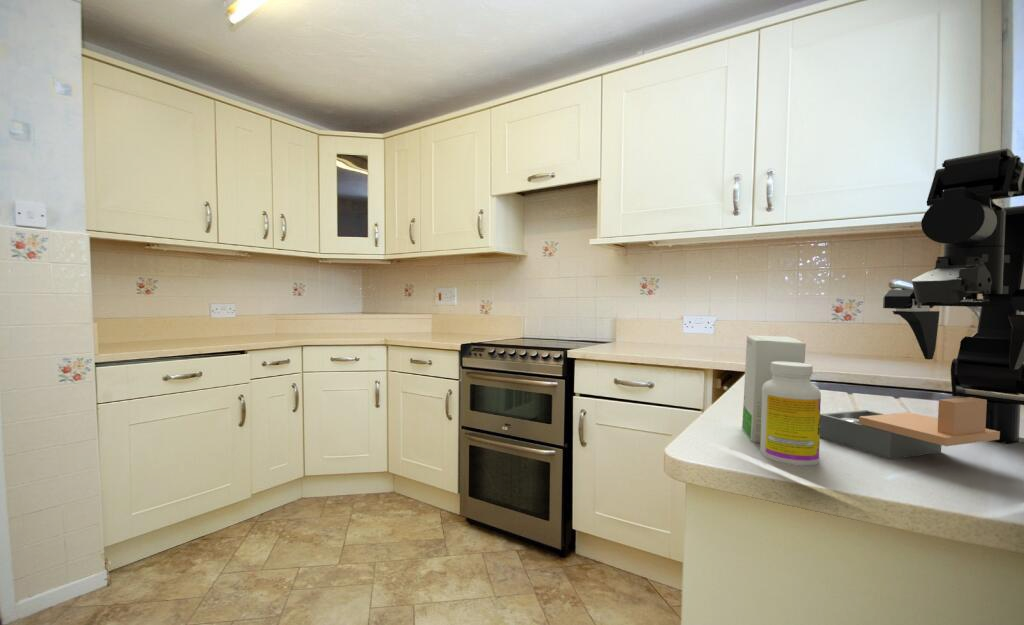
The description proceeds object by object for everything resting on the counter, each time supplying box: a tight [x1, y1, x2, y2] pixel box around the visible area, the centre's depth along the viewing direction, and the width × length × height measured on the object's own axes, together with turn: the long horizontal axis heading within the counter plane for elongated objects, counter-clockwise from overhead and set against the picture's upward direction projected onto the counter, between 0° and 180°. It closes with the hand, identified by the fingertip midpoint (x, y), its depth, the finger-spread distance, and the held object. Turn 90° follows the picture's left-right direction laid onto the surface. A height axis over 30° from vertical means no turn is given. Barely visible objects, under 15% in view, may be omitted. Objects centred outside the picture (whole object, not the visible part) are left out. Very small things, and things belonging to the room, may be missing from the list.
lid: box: [859, 397, 1000, 447], centre depth 60 cm, size 10×10×5 cm
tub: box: [820, 409, 942, 460], centre depth 66 cm, size 10×10×4 cm
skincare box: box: [741, 334, 807, 443], centre depth 69 cm, size 8×7×16 cm
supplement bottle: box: [759, 361, 822, 466], centre depth 60 cm, size 7×7×13 cm
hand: (968, 363), depth 62 cm, fingers open, 9 cm apart
